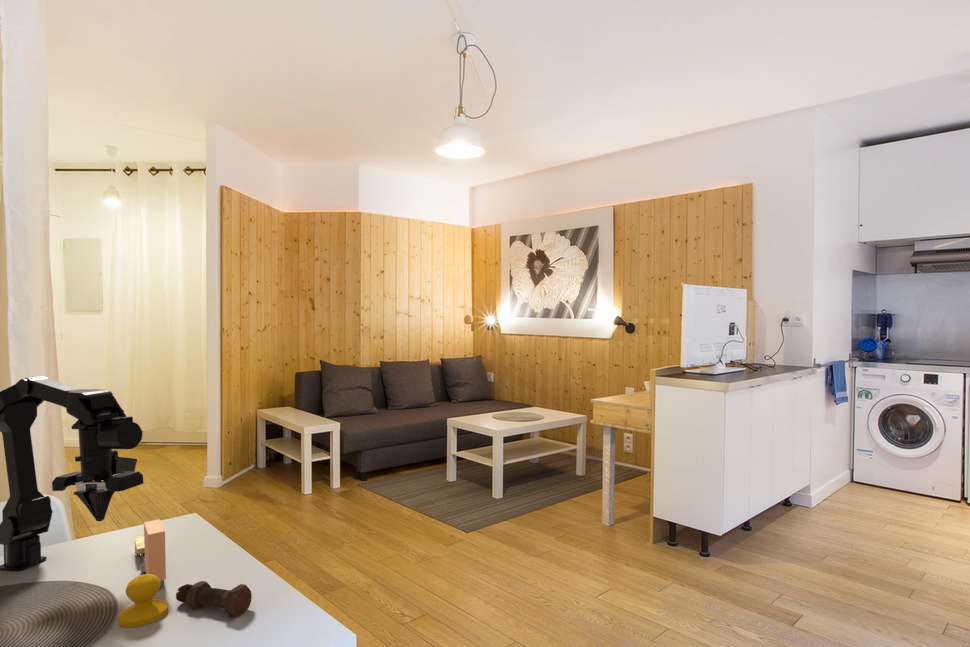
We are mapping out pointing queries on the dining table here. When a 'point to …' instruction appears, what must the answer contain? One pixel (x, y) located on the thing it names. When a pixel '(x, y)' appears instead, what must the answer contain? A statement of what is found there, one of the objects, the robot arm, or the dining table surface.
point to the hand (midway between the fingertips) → (100, 520)
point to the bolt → (216, 597)
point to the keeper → (139, 545)
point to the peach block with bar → (154, 550)
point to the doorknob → (143, 602)
